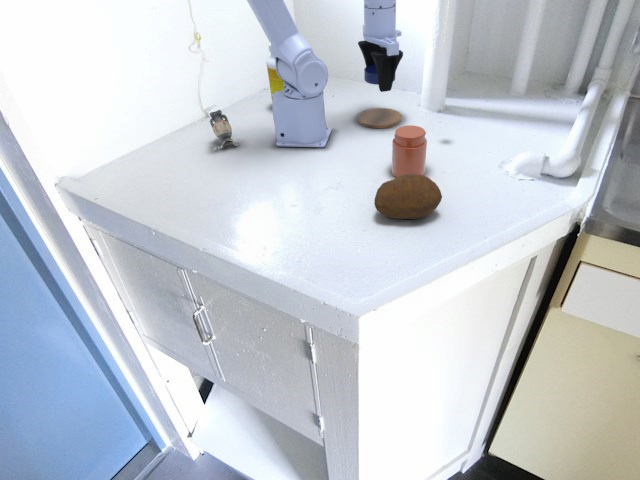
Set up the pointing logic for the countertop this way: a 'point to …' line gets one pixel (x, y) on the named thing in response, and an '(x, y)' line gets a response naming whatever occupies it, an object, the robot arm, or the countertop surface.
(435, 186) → the potato
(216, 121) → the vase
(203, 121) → the countertop surface
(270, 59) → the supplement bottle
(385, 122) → the coaster
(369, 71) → the lid
